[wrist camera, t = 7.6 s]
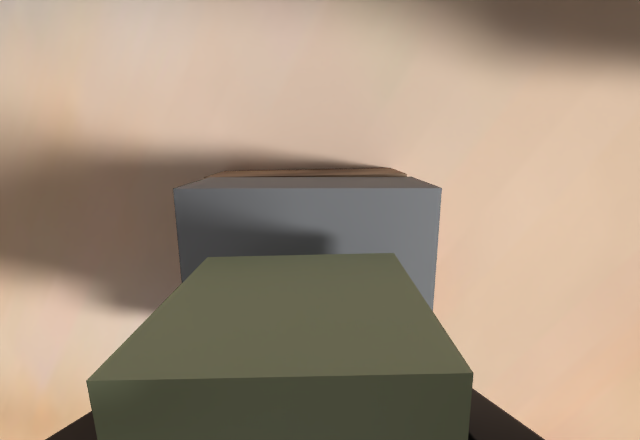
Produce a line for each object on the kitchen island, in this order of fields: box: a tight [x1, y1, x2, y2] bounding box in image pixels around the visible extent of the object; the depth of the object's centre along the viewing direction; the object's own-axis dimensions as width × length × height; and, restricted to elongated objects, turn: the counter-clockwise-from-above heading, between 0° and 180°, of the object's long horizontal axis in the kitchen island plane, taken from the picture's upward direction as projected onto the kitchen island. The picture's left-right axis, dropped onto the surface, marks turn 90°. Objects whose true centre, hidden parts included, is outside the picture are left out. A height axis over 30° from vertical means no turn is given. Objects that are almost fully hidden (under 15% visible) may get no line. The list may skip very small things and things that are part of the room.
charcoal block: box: [173, 177, 442, 311], centre depth 13 cm, size 8×8×4 cm
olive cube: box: [86, 253, 473, 440], centre depth 8 cm, size 5×5×5 cm
